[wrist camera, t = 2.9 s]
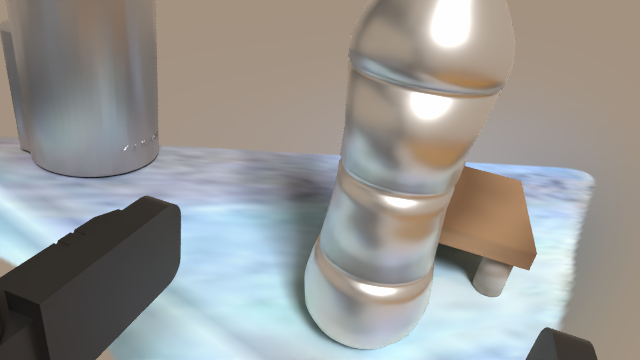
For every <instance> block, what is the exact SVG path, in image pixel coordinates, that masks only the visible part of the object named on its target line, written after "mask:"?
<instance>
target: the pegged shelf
mask: <svg viewBox="0 0 640 360" xmlns="http://www.w3.org/2000/svg"><path fill="white" fill-rule="evenodd" d="M439 243H441V244H444V245H447V246H451V247H454V248H457V249H460V250H464V251H467V252H470V253H474V254H477V255H480V256H483V257H482V260H481V262H480V264H479V267H478V269H477V272H476V274H475V277H474V279H473V282H472V284H473V286H474V288H475V289H476V290H477V291H478V292H480V293H481V294H483V295H486V296H489V297H497V296H499V295H500V294H501V292H502V290H503V287H504V285H505V283H506V281H507V279H508V276H509V274H510V272H511V270H512V268H513V266H516V267H519V268H523V269H526V270H529V269H530V267H531V265H532V263H533V261H534V259H535V257H536V255H537V252H536V248H535V243H534V238H533V234H532V229H531V224H530V220H529V215H528V210H527V206H526V201H525V196H524V192H523V187H522V183H521V181H519V180H515V179H511V178H507V177H504V176H500V175H496V174H492V173H489V172H485V171H481V170H477V169H474V168H470V167H466V166H464V168H463V170H462V173H461V175H460V178H459V180H458V182H457V183H456V184H455V188H454V192H453V195H452V197H451V200H450V202H449V204H448V207H447V210H446V214H445V218H444V222H443V226H442V230H441V234H440V238H439Z"/></svg>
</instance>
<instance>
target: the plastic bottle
mask: <svg viewBox="0 0 640 360" xmlns="http://www.w3.org/2000/svg"><path fill="white" fill-rule="evenodd" d="M515 40H516V39H515V35H514V30H513V25H512V21H511V16H510V11H509V8H508V5H507V2H506V0H369V2H368V3H367V4H366V5H365V6H364V8H363V9H362V11H361V13H360V15H359V17H358V19H357V21H356V24H355V25H354V28H353V30H352V32H351V39H350V48H349V55H348V57H349V58H350V61H349V62H348V75H347V94H346V112H345V126H344V133H343V139H342V146H341V153H340V155H341V159H340V160H339V166H338V173H337V180H336V183H335V186H334V190H333V193H332V196H331V200H330V203H329V207H328V210H327V213H326V217H325V220H324V223H323V227H322V230H321V232H320V234H319V236H318V238H317V240H316V242H315V244H314V246H313V249H312V252H311V254H310V257H309V260H308V263H307V266H306V270H305V274H304V280H305V303H306V306H307V309H308V311H309V313H310V315H311V316H312V318H313V319H314V321H315V322H316V324H317V325H318V326H319V328H320V329H321V330H322V331H323V332H324V333H325V334H326V335H328V336H329V337H331V338H332V339H333V340H335V341H337V342H339V343H341V344H344V345H347V346H350V347H353V348H359V349H377V348H383V347H385V346H388V345H390V344H393V343H395V342H398V341H400V340H402V339H403V338H405V337H406V336H408V335H409V333H410V332H411V331H412V330H413V329H414V327H415V326H416V324H417V323H418V321H419V320H420V318H421V316H422V315H423V313H424V312H425V310H426V307H427V305H428V302H429V297H430V291H431V286H432V280H433V270H434V259H435V255H436V251H437V247H438V243H439V238H440V234H441V230H442V226H443V222H444V218H445V214H446V210H447V207H448V204H449V202H450V200H451V197H452V195H453V192H454V188H455V184H456V183H457V182H458V180H459V178H460V175H461V173H462V170H463V168H464V165H465V163H466V160H467V158H468V156H469V153H470V151H471V148H472V147H473V145H474V143H475V141H476V139H477V137H478V135H479V133H480V131H481V129H482V128H483V126H484V124H485V122H486V120H487V118H488V116H489V114H490V112H491V110H492V108H493V107H494V105H495V103H496V101H497V99H498V97H499V95H500V94H499V92H500V90H502V89H503V88H504V86H505V84H506V81H507V79H508V76H509V74H510V72H511V70H512V67H513V65H514V53H515Z"/></svg>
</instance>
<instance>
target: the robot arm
mask: <svg viewBox="0 0 640 360" xmlns="http://www.w3.org/2000/svg"><path fill="white" fill-rule="evenodd" d="M6 6H7V11H8V17H9V20H5V21H3V22H2V23H1V24H0V34H1V39H2V45H3V51H4V56H5V62H6V68H7V73H8V79H9V84H10V90H11V95H12V101H13V107H14V112H15V118H16V123H17V128H18V134H19V140H20V145H21V149H24V150H27V151H29V152H30V153H31V155H32V158H33V160H34V161H35V162H36V163H37V165H39V166H41V167H42V168H44V169H46V170H49V171H52V172H55V173H59V174H64V175H69V176H80V177H101V176H110V175H117V174H122V173H127V172H130V171H133V170H136V169H139V168H141V167H143V166H145V165H147V164H148V163H150V162H151V161H153V160H154V159H155V157H156V156H157V154H158V150H159V149H158V89H157V43H156V0H6ZM180 250H181V212H180V209H179V207H178V206H177V205H175V204H172V203H169V202H166V201H163V200H160V199H156V198H153V197H150V196H143V197H141V198H140V199H138V200H137V201H135V202H134V203H132V204H131V205H129V206H128V207H126V208H125V209H123V210H119V209H118V210H115V211H112V212H109V213H106V214H103V215H100V216H97V217H94V218H92V219H91V220H89V221H88V222H86V223H85V224H83V225H81V226H80V227H78V228H77V229H75V230H74V233H69V234H67V235H66V236H64V237H63V238H61V239H60V240H58V242H57V244H54V243H53V244H52V245H50V246H49V247H47V248H46V249H44V250H42V251H41V252H39V253H38V254H36V255H35V256H33V257H32V258H30V259H28V260H27V261H25V262H24V263H22V264H21V265H19V266H18V267H16V268H14V269H13V270H11V271H10V272H8V273H7V274H5V275H4V276H2V277H0V360H96V359H97V358H98V357H99V356H100V355H101V353H102V352H103V351H104V350H105V349H106V348H107V347H108V346H109V345H110V344H111V343H112V342H113V341H114V340H115V339H116V338H117V337H118V336H119V335H120V334H121V333H122V332H123V331H124V330H125V329H126V328H127V327H128V326H129V325H130V324H131V323H132V322H133V321H134V320H135V319H136V318H137V317H138V316H139V315H140V314H141V313H142V312H143V311H144V310H145V309H146V308H147V307H148V306H149V305H150V304H151V303H152V302H153V301H154V300H155V298H156V297H157V296H158V295H159V294H160V293H161V292H162V291H163V290H164V289H165V288H166V287H167V286H168V285H169V284H170V283H171V282H172V280H173V279H174V277H175V275H176V273H177V270H178V268H179V264H180ZM526 360H597V357H596V353H595V350H594V347H593V345H592V344H591V342H589V341H588V340H585V339H581V338H579V337H575V336H572V335H569V334H566V333H563V332H560V331H557V330H554V329H551V328H548V327H547V328H544V329H543V330H542V331H541V332H540V334H539V336H538V338H537V339H536V341H535V343H534V345H533V347H532V349H531V350H530V352H529V354H528V356H527V358H526Z"/></svg>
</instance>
